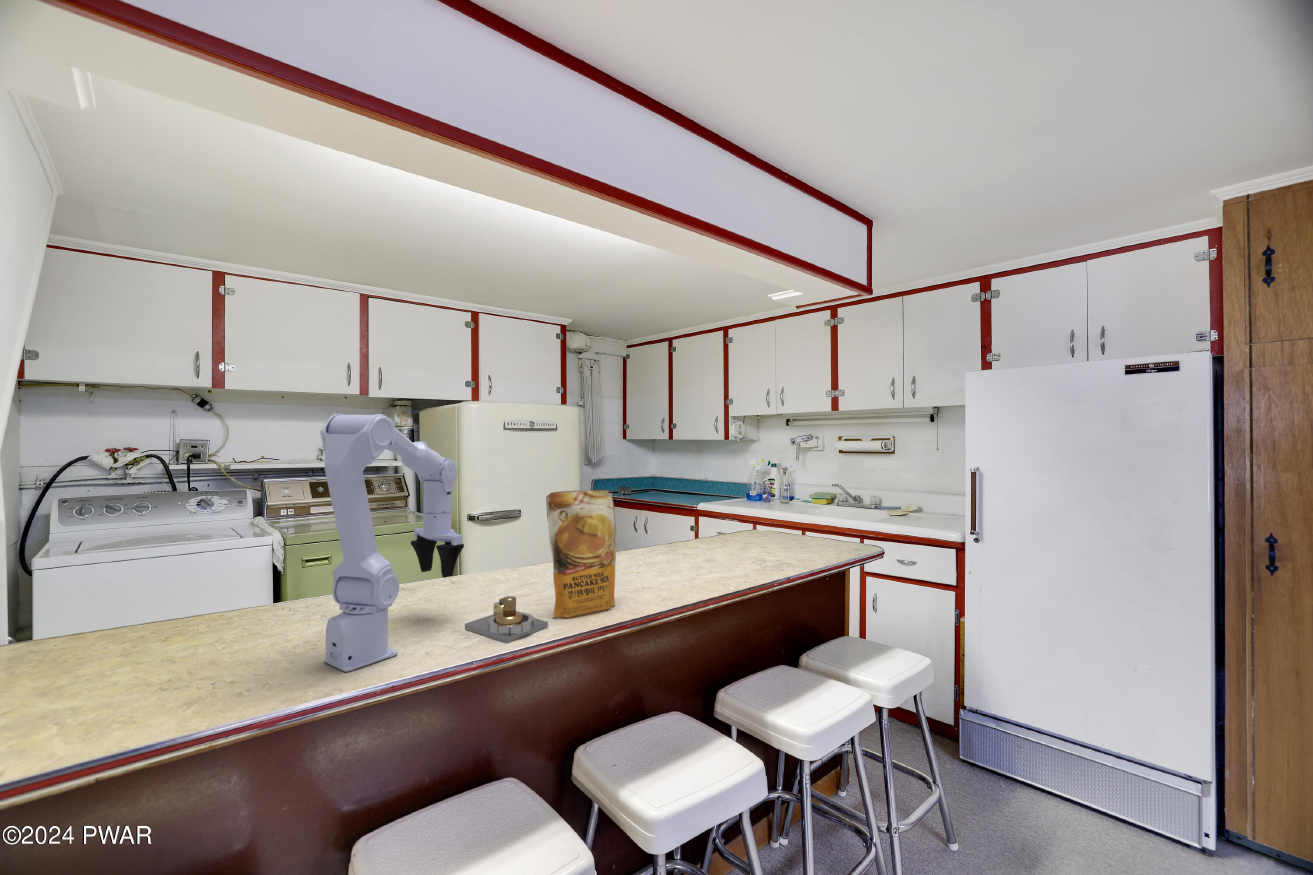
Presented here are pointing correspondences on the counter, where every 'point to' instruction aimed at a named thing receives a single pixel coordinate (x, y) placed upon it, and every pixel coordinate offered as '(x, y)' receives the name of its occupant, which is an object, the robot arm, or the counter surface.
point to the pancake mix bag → (582, 551)
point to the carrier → (505, 626)
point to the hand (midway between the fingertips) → (436, 573)
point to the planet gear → (509, 612)
